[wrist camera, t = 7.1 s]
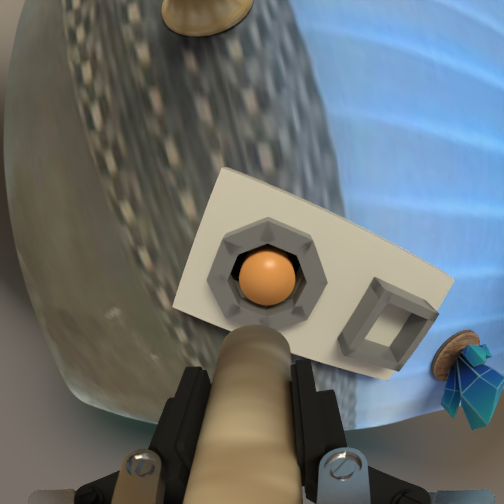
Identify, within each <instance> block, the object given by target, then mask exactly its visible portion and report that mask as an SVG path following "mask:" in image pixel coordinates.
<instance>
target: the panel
mask: <svg viewBox="0 0 504 504" xmlns="http://www.w3.org/2000/svg"><path fill="white" fill-rule="evenodd" d="M267 243H268V244H271V245H273V246H275V247H278V248H280V249H283V250H285V251H287V252H290V253H292V254H294V255H297V257H298V260H299V263H300V267H299V269H298V271H297V273H296V275H295V285H294V288H293V291H292V292H291V294H290V295H289V296H288V297H287V298H286V299H285V300H284V301H282V302H280V303H277V304H274V305H261V304H257V303H255V302H253V301H251V300H250V299H248V298H247V297H246V296H245V295H244V293H243V292H242V290H241V287H240V284H239V282H238V281H236V280H233V278H232V276H231V271H232V268H233V266H234V263H235V261H236V259H237V256H238V254H241V253H243V252H246V251H249V250H251V249H254V248H257V247H259V246H262V245H264V244H267ZM454 280H455V279H454V278H452V277H451V276H450V275H448V274H447V273H446V272H444V271H443V270H441V269H440V268H438V267H436V266H434V265H433V264H431V263H429V262H427V261H426V260H424V259H422V258H420V257H419V256H417V255H415V254H413V253H411V252H409V251H408V250H406V249H404V248H402V247H400V246H398V245H396V244H395V243H393V242H391V241H389V240H387V239H385V238H383V237H381V236H379V235H377V234H375V233H373V232H371V231H369V230H367V229H366V228H364V227H362V226H359V225H357V224H355V223H353V222H351V221H349V220H347V219H345V218H343V217H341V216H339V215H337V214H335V213H333V212H331V211H328V210H326V209H324V208H322V207H320V206H318V205H316V204H313V203H311V202H309V201H307V200H304V199H302V198H300V197H298V196H296V195H293V194H291V193H289V192H286V191H284V190H282V189H279V188H277V187H275V186H272V185H270V184H268V183H265V182H263V181H260V180H258V179H256V178H253V177H251V176H248V175H246V174H243V173H241V172H238V171H236V170H233V169H231V168H228V167H223V168H222V169H221V171H220V174H219V176H218V179H217V181H216V184H215V186H214V189H213V192H212V194H211V197H210V199H209V202H208V205H207V207H206V210H205V213H204V215H203V218H202V221H201V224H200V226H199V229H198V232H197V235H196V238H195V240H194V243H193V246H192V249H191V252H190V255H189V258H188V261H187V263H186V266H185V269H184V272H183V275H182V278H181V281H180V284H179V288H178V291H177V294H176V297H175V300H174V303H173V306H172V307H174V308H176V309H178V310H180V311H183V312H185V313H187V314H190V315H192V316H194V317H197V318H199V319H202V320H204V321H207V322H209V323H211V324H214V325H216V326H219V327H221V328H224V329H227V330H229V331H233V330H235V329H237V328H239V327H242V326H246V325H263V326H267V327H270V328H273V329H275V330H276V331H278V332H279V333H281V334H282V335H283V336H284V337H285V338H286V340H287V341H288V343H289V346H290V351H291V353H293V354H296V355H299V356H302V357H305V358H309V359H312V360H315V361H318V362H321V363H325V364H328V365H331V366H335V367H338V368H342V369H345V370H349V371H352V372H356V373H360V374H363V375H367V376H371V377H375V378H379V379H383V380H388V379H389V378H390V377H391V376H392V374H393V373H394V372H395V371H398V372H399V371H400V370H401V368H402V367H403V366H404V364H405V363H406V362H407V360H408V359H409V358H410V356H411V355H412V354H413V352H414V351H415V350H416V348H417V347H418V345H419V344H420V342H421V341H422V340H423V338H424V337H425V335H426V334H427V332H428V331H429V329H430V328H431V326H432V325H433V323H434V322H435V320H436V318H437V317H438V315H439V313H438V312H437V310H438V308H439V307H440V305H441V303H442V302H443V300H444V298H445V297H446V295H447V293H448V291H449V290H450V288H451V286H452V284H453V282H454Z"/></svg>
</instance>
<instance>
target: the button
mask: <svg viewBox="0 0 504 504" xmlns="http://www.w3.org/2000/svg"><path fill="white" fill-rule="evenodd" d="M239 284H240V287H241V290H242V292H243V293H244V295H245V296H246V297H247V298H248V299H250V300H251V301H253V302H255V303H257V304H261V305H274V304H277V303H280V302H282V301H284V300H285V299H286V298H287V297H288V296H289V295H290V294H291V292H292V291H293V288H294V285H295V273H294V268H293V264H292V261H291V259H290V257H289V256H288V254H287V253H286V252H285V251H283V250H282V249H280V248H278V247H275V246H268V245H267V246H260V247H257V248H255V249H253V250H252V251H251V252H249V253H248V254H247V256H246V257H245V259H244V261H243V264H242V267H241V271H240V275H239Z"/></svg>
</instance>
